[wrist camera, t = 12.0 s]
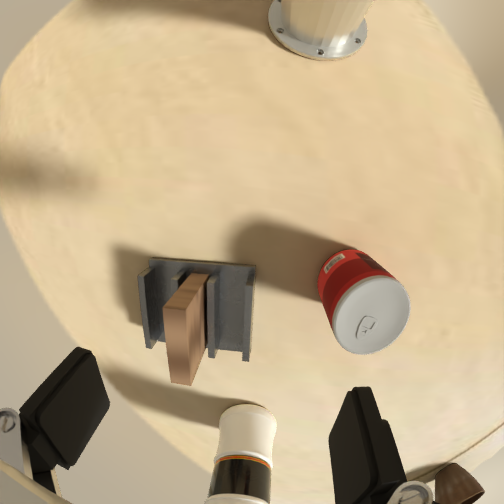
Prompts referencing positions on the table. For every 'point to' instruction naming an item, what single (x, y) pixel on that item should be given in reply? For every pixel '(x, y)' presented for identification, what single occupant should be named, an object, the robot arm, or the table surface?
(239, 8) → the table surface
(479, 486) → the plant pot
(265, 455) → the vodka
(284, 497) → the table surface
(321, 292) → the canned food
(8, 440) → the robot arm
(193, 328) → the board
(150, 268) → the rack
